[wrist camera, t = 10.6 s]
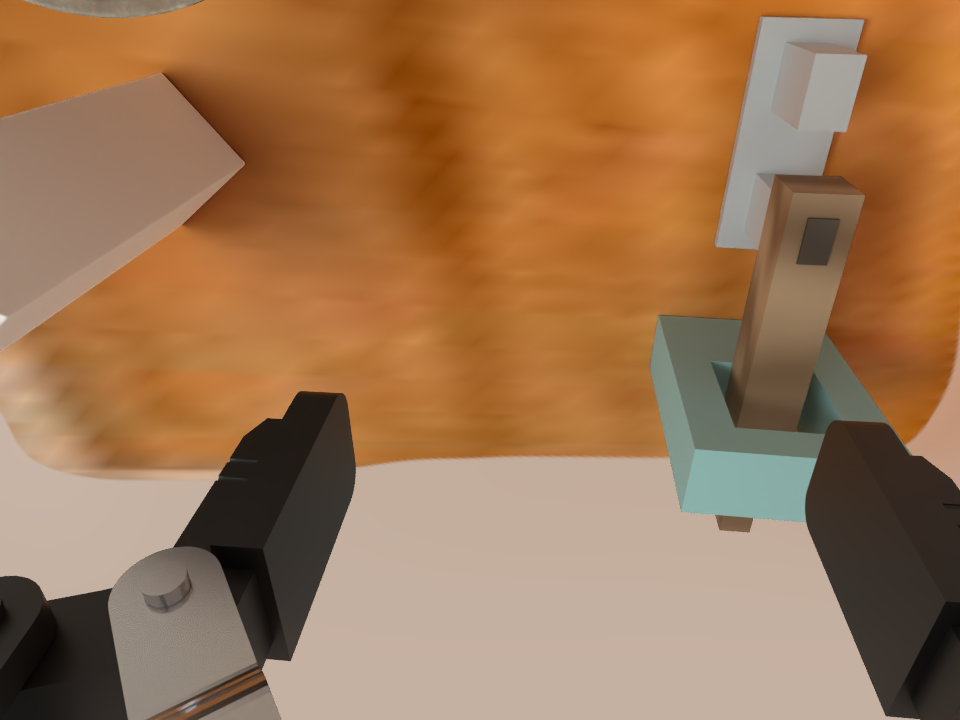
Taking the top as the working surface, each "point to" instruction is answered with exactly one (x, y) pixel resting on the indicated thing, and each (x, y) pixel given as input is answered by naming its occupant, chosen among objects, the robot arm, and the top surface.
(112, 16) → the plant pot
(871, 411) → the teal rectangular frame
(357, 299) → the top surface
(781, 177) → the needle
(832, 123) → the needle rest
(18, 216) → the milk
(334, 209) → the top surface
